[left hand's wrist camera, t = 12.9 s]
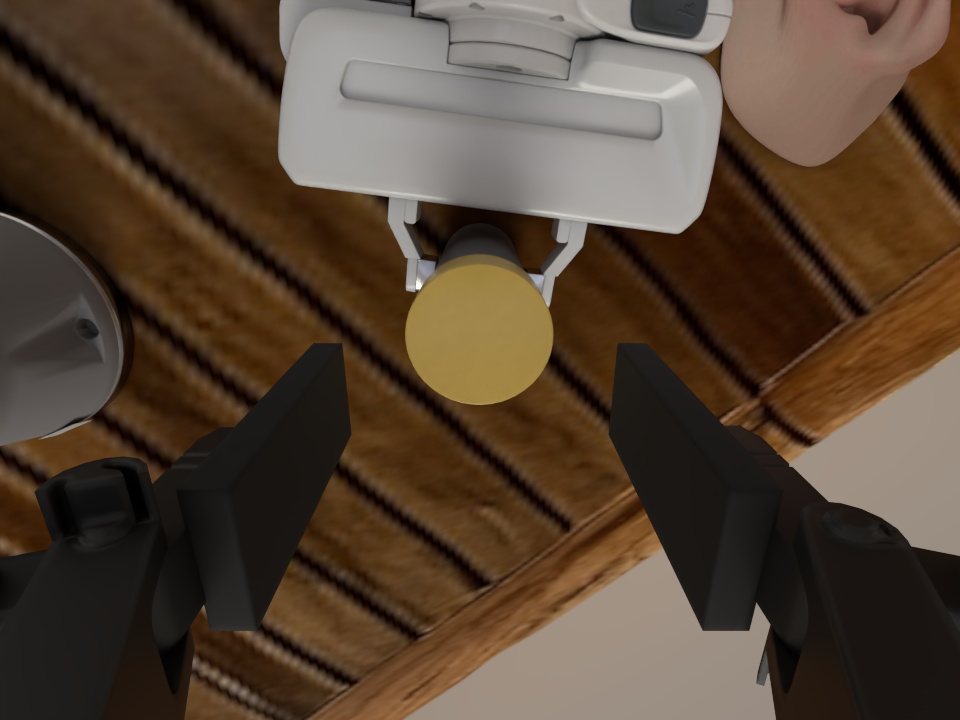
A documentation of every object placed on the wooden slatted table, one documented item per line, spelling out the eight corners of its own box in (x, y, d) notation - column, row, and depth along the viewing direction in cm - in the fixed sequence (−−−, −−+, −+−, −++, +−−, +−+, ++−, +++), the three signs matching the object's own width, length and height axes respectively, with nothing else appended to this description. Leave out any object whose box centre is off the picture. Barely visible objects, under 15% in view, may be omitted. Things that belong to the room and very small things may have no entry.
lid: (401, 368, 21) (393, 388, 19) (426, 239, 19) (420, 248, 17) (526, 395, 21) (531, 417, 19) (562, 271, 19) (571, 283, 17)
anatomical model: (903, 183, 28) (705, 123, 26) (853, 181, 31) (677, 128, 30) (1062, -119, 23) (831, -206, 22) (981, -79, 27) (780, -152, 26)
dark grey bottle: (436, 287, 34) (403, 378, 19) (451, 214, 32) (427, 255, 18) (506, 303, 34) (525, 405, 20) (524, 232, 33) (560, 286, 18)
